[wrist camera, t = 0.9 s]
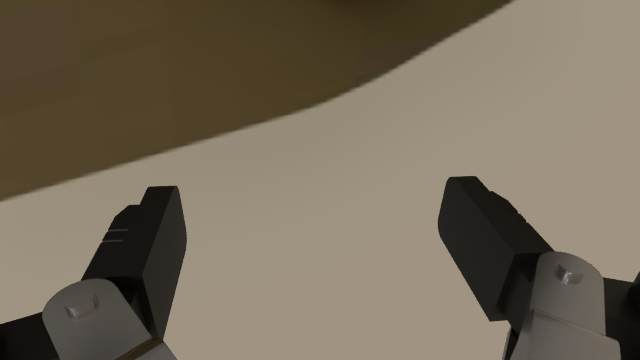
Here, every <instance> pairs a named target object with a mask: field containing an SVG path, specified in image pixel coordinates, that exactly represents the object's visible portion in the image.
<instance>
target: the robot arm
mask: <svg viewBox="0 0 640 360" xmlns="http://www.w3.org/2000/svg"><path fill="white" fill-rule="evenodd" d="M438 230H439V234H440V237H441V239H442V241H443V242H444V244H445V246H446V248H447V249H448V251H449V253H450V254H451V256H452V258H453V260H454V261H455V263H456V265H457V266H458V268H459V270H460V271H461V273H462V275H463V277H464V278H465V280H466V282H467V283H468V285H469V287H470V288H471V290H472V292H473V294H474V295H475V297H476V299H477V300H478V302H479V304H480V306H481V307H482V309H483V311H484V312H485V314H486V316H487V317H488V319H489V321H503V320H508V322H509V323H510V325H511V327H510V329H509V331H508V334H507V338H506V343H505V347H504V352H503V356H502V360H640V272H639V273H638V275H637V277H636V279H635V280H634V282H627V281H621V280H615V279H610V278H603V277H602V276H601V274H600V273H599V271H598V270H597V269H596V268H595V267H593V266H592V265H591V264H589V263H588V262H587V261H585V260H583V259H581V258H579V257H577V256H574V255H571V254H568V253H564V252H555V251H554V250H553V249H552V248H551V247H550V246H549V245H548V243H547V242H546V241H545V240H544V239H543V238H542V237H541V236H540V235H539V234H538V233H537V232H536V231H535V230H534V228H533V227H532V226H531V225H530V224H529V223H526V220H525V219H524V218H523V216H521V214H518V211H517V210H516V209H515V208H514V207H513V206H512V205H511V203H510V202H509V201H508V200H506V199H504V198H503V197H501V196H499V195H498V194H496V193H495V192H493V191H489V190H488V189H487V188H486V187H485V186H484V185H483V183H482V182H480V180H479V179H478V178H477V177H475V176H463V177H450V178H449V179H448V180H447V182H446V186H445V190H444V195H443V199H442V204H441V208H440V213H439V217H438ZM102 241H103V242H102V243H101V244H100V246H99V248H98V249H97V251H96V253H95V255H94V257H93V259H92V260H91V262H90V264H89V266H88V268H87V270H86V272H85V273H84V275H83V277H82V279H81V281H79V282H76V283H74V284H71V285H69V286H67V287H65V288H64V289H62V290H60V291H59V292H58V293H56V294H55V295H54V296H53V297H52V298H51V299H50V300H49V301H48V302H47V304H46V306H45V307H44V310H43V312H40V313H37V314H34V315H31V316H27V317H24V318H21V319H17V320H13V321H10V322H7V323H3V324H0V360H177V359H176V357H175V356H174V354H173V353H172V352H171V350H170V349H169V348H168V346H167V345H166V344H165V343H164V341H163V337H164V334H165V330H166V326H167V322H168V317H169V314H170V310H171V306H172V302H173V298H174V294H175V290H176V286H177V283H178V278H179V274H180V270H181V267H182V263H183V259H184V255H185V251H186V242H187V235H186V227H185V221H184V215H183V210H182V205H181V199H180V193H179V189H178V187H177V186H156V187H148V188H147V190H146V192H145V194H144V197H143V199H142V201H141V203H140V205H129V206H127V207H126V208H125V209H124V210H122V211H121V212H120V213H119V214H118V215H116V216H115V218H114V220H113V222H112V223H111V225H110V227H109V229H108V232H107V233H106V234H105V236H104V238H103V240H102Z"/></svg>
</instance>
